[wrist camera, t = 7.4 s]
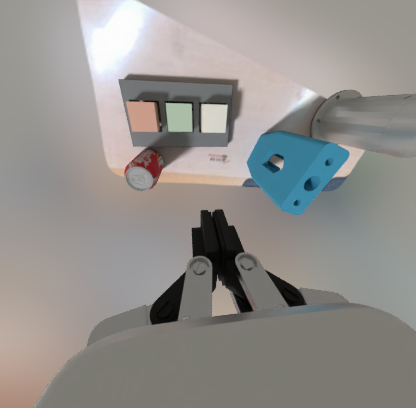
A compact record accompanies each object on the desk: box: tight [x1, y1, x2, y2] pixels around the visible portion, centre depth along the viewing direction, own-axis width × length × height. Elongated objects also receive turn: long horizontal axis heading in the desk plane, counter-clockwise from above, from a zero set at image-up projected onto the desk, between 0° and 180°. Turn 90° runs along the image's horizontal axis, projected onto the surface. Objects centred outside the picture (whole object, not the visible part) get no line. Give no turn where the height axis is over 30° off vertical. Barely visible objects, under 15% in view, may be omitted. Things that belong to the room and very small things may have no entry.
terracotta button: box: [126, 101, 160, 132], centre depth 31 cm, size 5×5×3 cm
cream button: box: [201, 104, 228, 133], centre depth 32 cm, size 5×5×3 cm
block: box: [247, 131, 349, 215], centre depth 33 cm, size 12×5×20 cm, turn 158°
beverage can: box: [125, 149, 164, 191], centre depth 34 cm, size 6×6×12 cm
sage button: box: [166, 103, 192, 132], centre depth 32 cm, size 5×5×3 cm
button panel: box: [118, 79, 233, 147], centre depth 34 cm, size 22×12×2 cm, turn 88°
